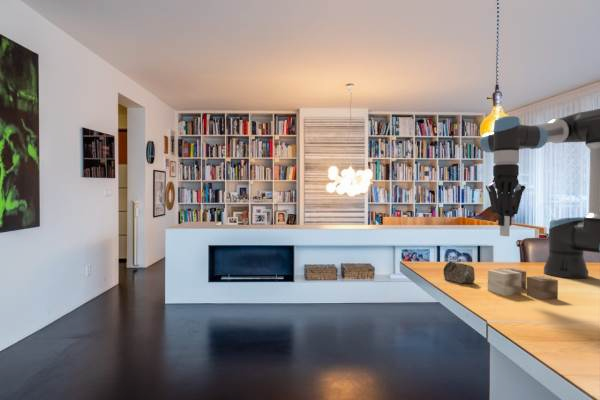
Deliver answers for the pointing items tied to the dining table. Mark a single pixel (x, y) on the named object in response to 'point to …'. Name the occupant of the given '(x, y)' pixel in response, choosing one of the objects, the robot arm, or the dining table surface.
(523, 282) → the marked block near
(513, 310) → the dining table surface
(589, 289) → the dining table surface
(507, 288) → the plain block
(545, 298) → the marked block left
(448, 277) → the stone
